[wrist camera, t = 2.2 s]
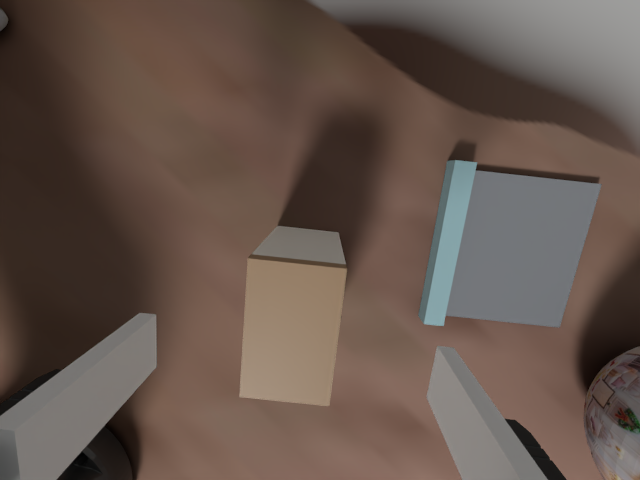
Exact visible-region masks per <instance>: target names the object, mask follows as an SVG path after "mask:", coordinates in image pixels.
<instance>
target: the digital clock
mask: <svg viewBox="0 0 640 480" xmlns="http://www.w3.org/2000/svg"><path fill="white" fill-rule="evenodd" d="M7 23H8V18H7V16H6V14H5V12H4V11H3V10H2V9H1V8H0V31H1V30H2V29H3V28H4V27H5V26H6V25H7Z"/></svg>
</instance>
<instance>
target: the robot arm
mask: <svg viewBox="0 0 640 480" xmlns="http://www.w3.org/2000/svg"><path fill="white" fill-rule="evenodd" d="M156 367H157V347H156V314H147V313H139V314H137V315H136V316H135V317H133V318H132V319H131V320H129V321H128V322H127V323H125V324H124V325H123V326H121V327H120V328H119V329H117V330H116V331H114V332H113V333H112V334H110V335H109V336H108V337H106V338H105V339H104V340H102V341H101V342H100V343H98V344H97V345H96V346H94V347H93V348H91V349H90V350H89V351H87V352H86V353H85V354H83V355H82V356H81V357H79V358H78V359H77V360H75V361H74V362H73V363H71V364H70V365H68V366H67V367H66V368H64V369H63V370H59V369H56V370H54V371H52V372H49V373H47V374H45V375H43V376H41V377H38V378H37V379H35V380H34V381H33V382H31V383H30V384H28V385H27V386H25V387H24V388H23V389H22V391H18V392H17V393H16V394H14V395H13V396H11V397H10V399H9V400H6V401H4V402H3V403H1V404H0V480H132V470H131V465H130V462H129V459H128V457H127V454H126V452H125V450H124V449H123V447H122V445H121V444H120V442H119V441H118V440H117V439H116V437H115V436H114V435H113V434H112V433H111V432H110V431H109V430H108V429H107V428H106V427H105V424H106V423H107V422H108V421H109V420H110V419H111V418H112V417H113V415H114V414H115V413H116V412H117V411H118V410H119V409H120V408H121V406H122V405H123V404H124V403H125V402H126V401H127V400H128V399H129V397H130V396H131V395H132V394H133V393H134V392H135V391H136V390H137V388H138V387H139V386H140V385H141V384H142V383H143V382H144V381H145V379H146V378H147V377H148V376H149V375H150V374H151V373H152V372H153V370H154V369H155V368H156ZM427 399H428V402H429V404H430V406H431V409H432V411H433V413H434V416H435V418H436V420H437V422H438V425H439V427H440V429H441V432H442V434H443V436H444V439H445V441H446V443H447V445H448V448H449V450H450V452H451V455H452V457H453V459H454V462H455V464H456V466H457V468H458V471H459V473H460V475H461V478H462V480H566V478H565V477H564V476H563V474H562V473H561V472H560V471H559V469H558V468H557V467H556V465H555V464H554V463H553V462H552V461H551V460H550V459H549V456H548V455H547V454H546V452H545V451H544V450H543V449H541V446H540V445H539V443H538V442H537V441H536V440H535V438H534V437H533V436H532V434H531V433H530V432H529V431H528V430H526V429H525V428H524V427H523V426H522V425H521V424H519V423H518V422H517V421H516V420H510V419H504V418H503V416H502V415H501V413H500V412H499V411H498V409H497V408H496V406H495V405H494V404H493V402H492V401H491V399H490V398H489V397H488V395H487V394H486V392H485V391H484V390H483V388H482V387H481V385H480V384H479V383H478V381H477V380H476V378H475V377H474V375H473V374H472V373H471V371H470V370H469V368H468V367H467V366H466V364H465V363H464V361H463V360H462V359H461V357H460V356H459V354H458V353H457V352H456V350H455V349H454V348H451V347H442V346H437V350H436V355H435V359H434V364H433V369H432V374H431V379H430V383H429V388H428V393H427Z"/></svg>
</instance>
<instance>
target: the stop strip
mask: <svg viewBox="0 0 640 480" xmlns="http://www.w3.org/2000/svg"><path fill="white" fill-rule="evenodd" d="M476 166H477V162H468V161H459V160H451V161H447V166H446V171H445V176H444V182H443V187H442V192H441V198H440V203H439V208H438V214H437V219H436V224H435V230H434V235H433V240H432V246H431V251H430V256H429V262H428V267H427V272H426V278H425V283H424V288H423V294H422V299H421V304H420V310H419V315H418V316H419V317H420V319H421V320H422V322H423V323H424V324H429V325H438V326H443V325H444V320H445V316H446V311H447V306H448V301H449V296H450V291H451V287H452V282H453V277H454V272H455V267H456V262H457V258H458V253H459V248H460V243H461V238H462V233H463V229H464V224H465V219H466V214H467V209H468V205H469V200H470V195H471V190H472V185H473V180H474V176H475V171H476Z"/></svg>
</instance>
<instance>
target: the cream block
mask: <svg viewBox="0 0 640 480" xmlns="http://www.w3.org/2000/svg"><path fill="white" fill-rule="evenodd" d="M346 274H347V266H346V262H345V258H344V254H343V249H342V245H341V241H340V237H339V233H338V232H331V231H322V230H312V229H303V228H294V227H284V226H277V227H276V228H275V229H274V230H273V231H272V232H271V233H270V235H269V236H268V237H267V238H266V239H265V240H264V241H263V242H262V243H261V244H260V245H259V247H258V248H257V249H256V250H255V251H254V252H253V253H252V254H251V255H250V256H249V258H248V263H247V280H246V296H245V313H244V330H243V346H242V363H241V380H240V397H244V398H254V399H264V400H273V401H283V402H293V403H302V404H312V405H322V406H329V404H330V397H331V389H332V381H333V374H334V366H335V358H336V351H337V343H338V335H339V328H340V320H341V312H342V305H343V297H344V289H345V282H346Z"/></svg>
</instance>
